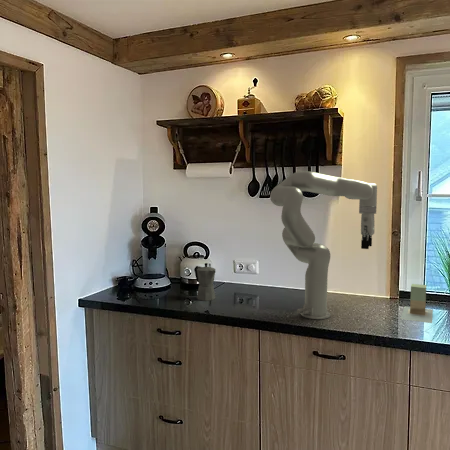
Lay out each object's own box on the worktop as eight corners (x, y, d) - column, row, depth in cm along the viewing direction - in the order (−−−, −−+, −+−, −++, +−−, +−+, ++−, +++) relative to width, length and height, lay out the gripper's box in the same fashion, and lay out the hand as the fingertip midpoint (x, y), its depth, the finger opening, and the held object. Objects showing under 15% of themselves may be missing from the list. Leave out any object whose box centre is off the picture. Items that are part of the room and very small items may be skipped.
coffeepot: (221, 299, 220) (222, 263, 218) (207, 302, 214) (207, 266, 212) (201, 293, 231) (201, 259, 230) (187, 296, 225) (187, 261, 223)
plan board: (432, 324, 181) (432, 323, 181) (400, 320, 186) (400, 319, 186) (432, 310, 201) (432, 309, 201) (404, 307, 206) (404, 306, 206)
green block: (425, 301, 192) (425, 287, 191) (410, 299, 194) (410, 286, 194) (425, 298, 197) (426, 285, 197) (411, 296, 200) (411, 283, 199)
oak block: (424, 315, 192) (425, 301, 192) (409, 313, 195) (410, 299, 194) (425, 311, 198) (425, 298, 197) (410, 309, 200) (411, 296, 200)
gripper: (373, 211, 192) (372, 250, 194) (378, 209, 208) (377, 245, 209) (356, 211, 196) (354, 249, 197) (362, 209, 211) (361, 244, 213)
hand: (366, 247), depth 203 cm, fingers open, 9 cm apart
